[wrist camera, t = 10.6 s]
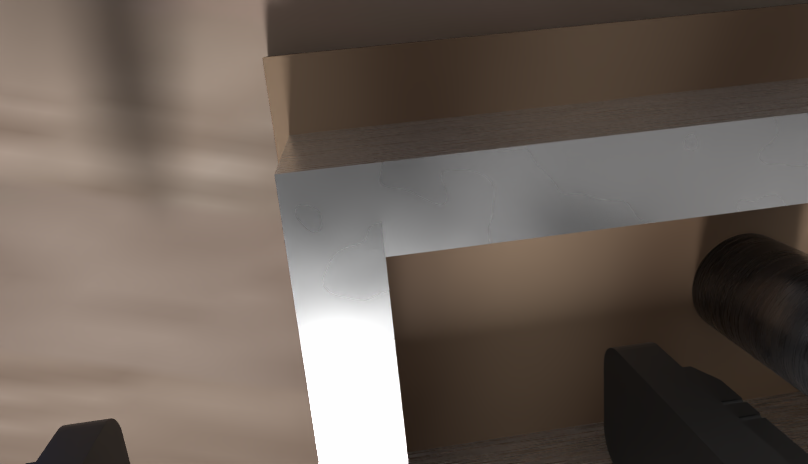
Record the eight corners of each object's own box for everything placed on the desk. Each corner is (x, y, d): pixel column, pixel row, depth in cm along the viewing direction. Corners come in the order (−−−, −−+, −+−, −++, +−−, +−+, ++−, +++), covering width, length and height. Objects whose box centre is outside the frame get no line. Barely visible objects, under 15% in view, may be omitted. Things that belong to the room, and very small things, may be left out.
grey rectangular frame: (941, 63, 14) (1174, 70, 10) (889, 425, 17) (1059, 539, 13) (289, 134, 13) (274, 173, 9) (344, 513, 15) (351, 669, 12)
